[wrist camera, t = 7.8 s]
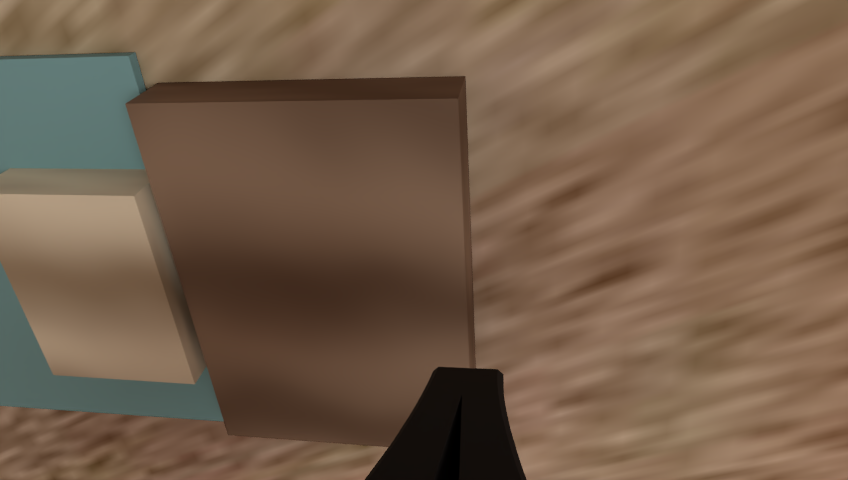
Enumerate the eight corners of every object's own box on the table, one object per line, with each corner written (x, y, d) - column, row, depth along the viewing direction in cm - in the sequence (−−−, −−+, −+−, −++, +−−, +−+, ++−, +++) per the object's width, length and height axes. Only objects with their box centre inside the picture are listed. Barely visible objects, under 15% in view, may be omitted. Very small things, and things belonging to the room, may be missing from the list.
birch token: (216, 349, 26) (194, 384, 25) (83, 342, 27) (53, 374, 26) (164, 169, 22) (134, 195, 21) (10, 168, 23) (-32, 193, 22)
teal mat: (240, 415, 29) (237, 422, 29) (2, 399, 31) (-4, 405, 31) (135, 52, 21) (128, 55, 20) (-180, 61, 23) (-191, 65, 22)
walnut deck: (477, 414, 27) (473, 453, 25) (246, 399, 28) (228, 434, 27) (465, 76, 20) (458, 98, 18) (158, 82, 21) (124, 103, 20)
